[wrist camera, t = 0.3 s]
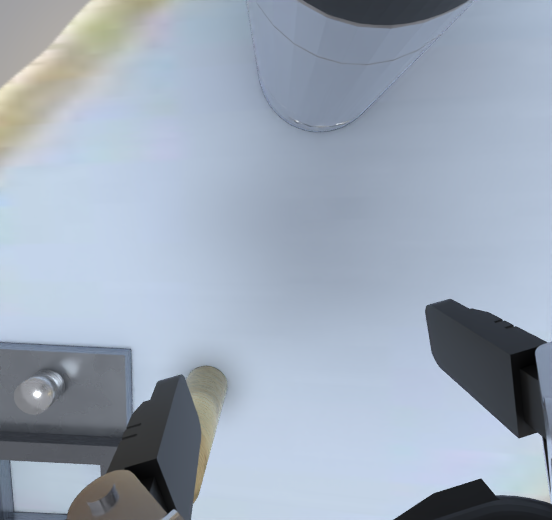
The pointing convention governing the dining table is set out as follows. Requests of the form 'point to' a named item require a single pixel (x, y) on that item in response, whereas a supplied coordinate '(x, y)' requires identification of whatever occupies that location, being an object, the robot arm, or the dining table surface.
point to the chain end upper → (57, 449)
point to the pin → (206, 411)
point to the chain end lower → (61, 398)
